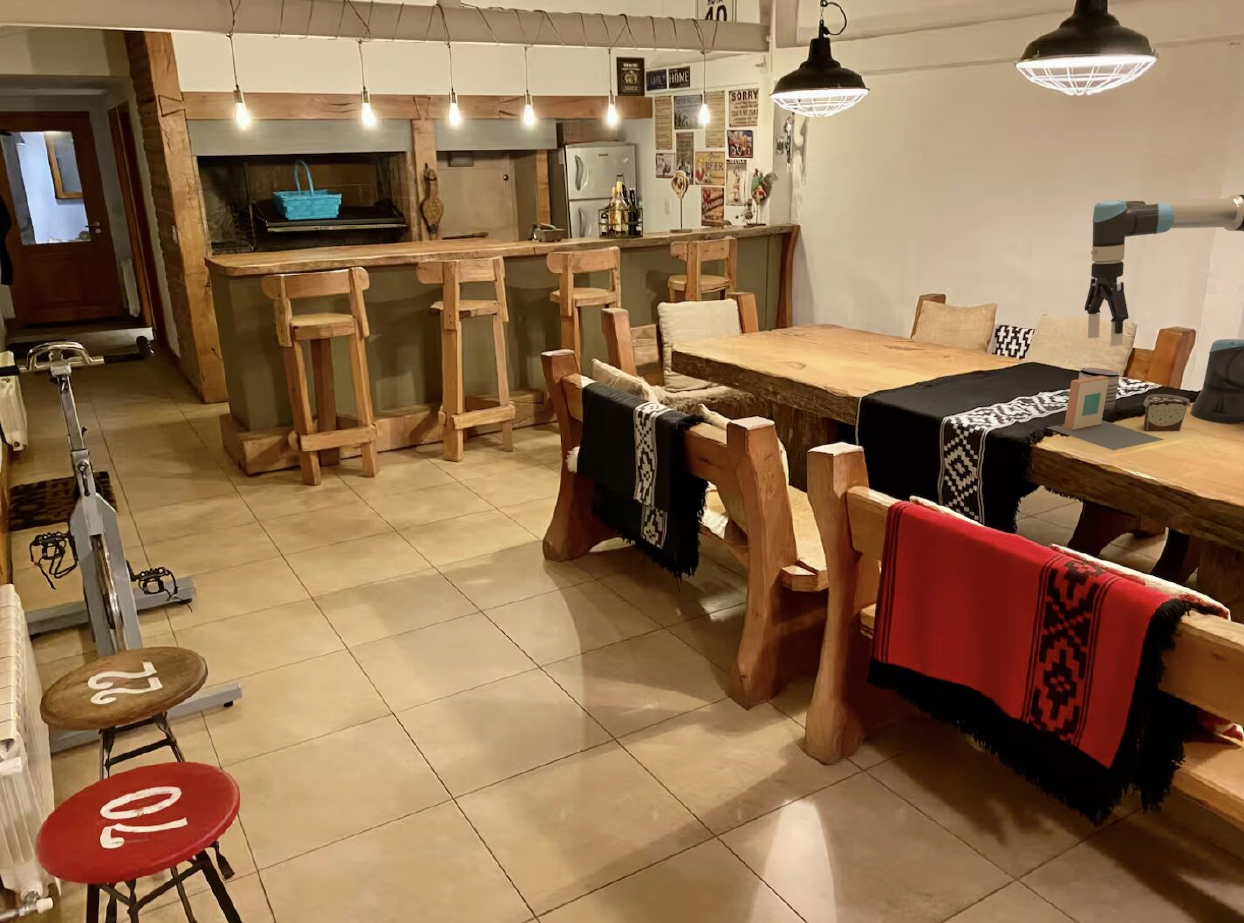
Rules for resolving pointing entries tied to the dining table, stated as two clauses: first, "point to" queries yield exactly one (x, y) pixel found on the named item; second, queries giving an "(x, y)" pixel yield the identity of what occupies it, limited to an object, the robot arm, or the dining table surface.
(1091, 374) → the can
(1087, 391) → the tile
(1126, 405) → the dining table surface
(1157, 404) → the food container
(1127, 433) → the mat
